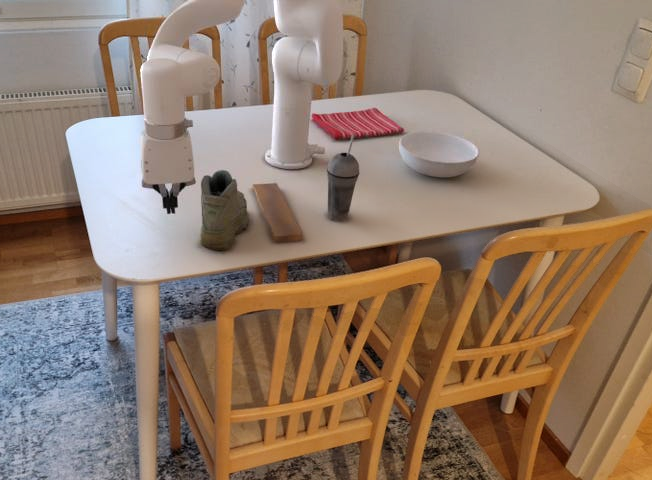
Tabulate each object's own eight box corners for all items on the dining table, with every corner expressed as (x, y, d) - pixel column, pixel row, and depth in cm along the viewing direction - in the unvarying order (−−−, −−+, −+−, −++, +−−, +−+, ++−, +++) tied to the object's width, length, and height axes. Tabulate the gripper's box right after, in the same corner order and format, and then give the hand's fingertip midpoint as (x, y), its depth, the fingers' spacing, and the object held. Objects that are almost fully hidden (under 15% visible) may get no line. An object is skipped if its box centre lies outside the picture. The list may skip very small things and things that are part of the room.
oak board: (276, 188, 156) (276, 183, 155) (301, 240, 137) (302, 234, 136) (252, 190, 154) (252, 184, 153) (274, 242, 135) (274, 236, 134)
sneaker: (267, 215, 144) (264, 154, 135) (226, 258, 129) (219, 192, 121) (226, 207, 148) (220, 147, 139) (181, 247, 133) (172, 183, 125)
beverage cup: (319, 208, 149) (328, 127, 137) (350, 208, 150) (361, 128, 138) (323, 224, 143) (333, 141, 131) (355, 224, 144) (367, 142, 132)
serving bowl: (487, 171, 172) (493, 148, 168) (446, 195, 159) (452, 170, 155) (422, 146, 183) (427, 124, 179) (379, 166, 170) (383, 142, 166)
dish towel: (308, 120, 194) (309, 112, 192) (376, 113, 202) (377, 105, 201) (333, 142, 181) (334, 133, 180) (404, 134, 189) (405, 126, 188)
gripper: (202, 117, 125) (204, 199, 136) (124, 120, 122) (132, 204, 132) (207, 133, 119) (209, 217, 130) (125, 137, 116) (134, 223, 126)
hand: (170, 210), depth 131 cm, fingers closed
